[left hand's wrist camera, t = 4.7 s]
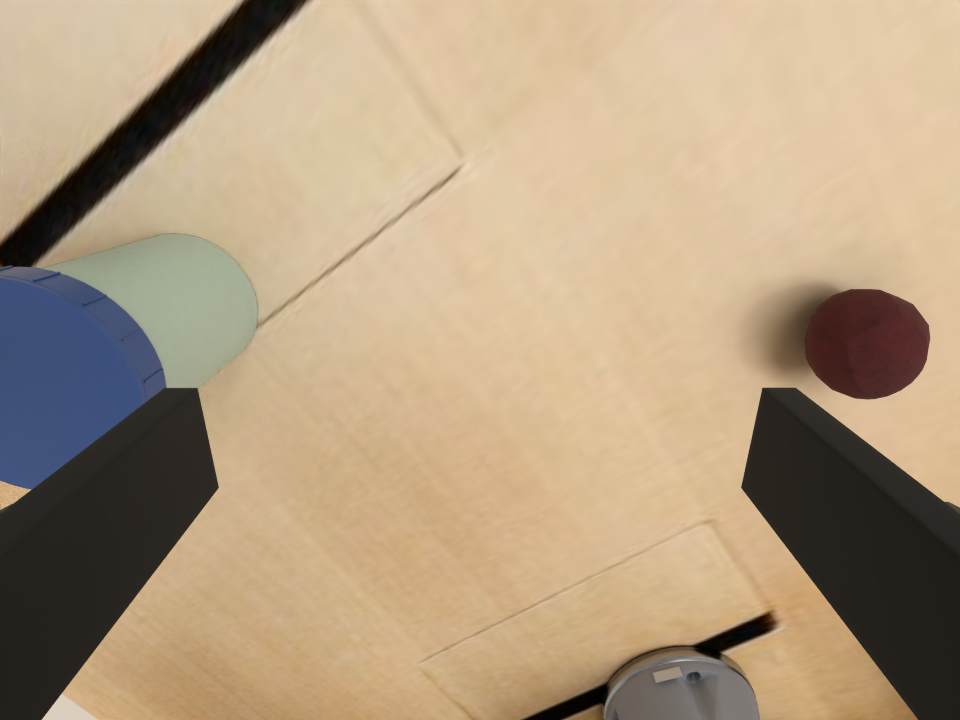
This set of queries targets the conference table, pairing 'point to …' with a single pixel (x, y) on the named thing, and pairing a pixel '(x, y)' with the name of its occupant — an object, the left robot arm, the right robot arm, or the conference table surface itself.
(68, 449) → the lid
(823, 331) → the dark red ball
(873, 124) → the conference table surface
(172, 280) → the jar
